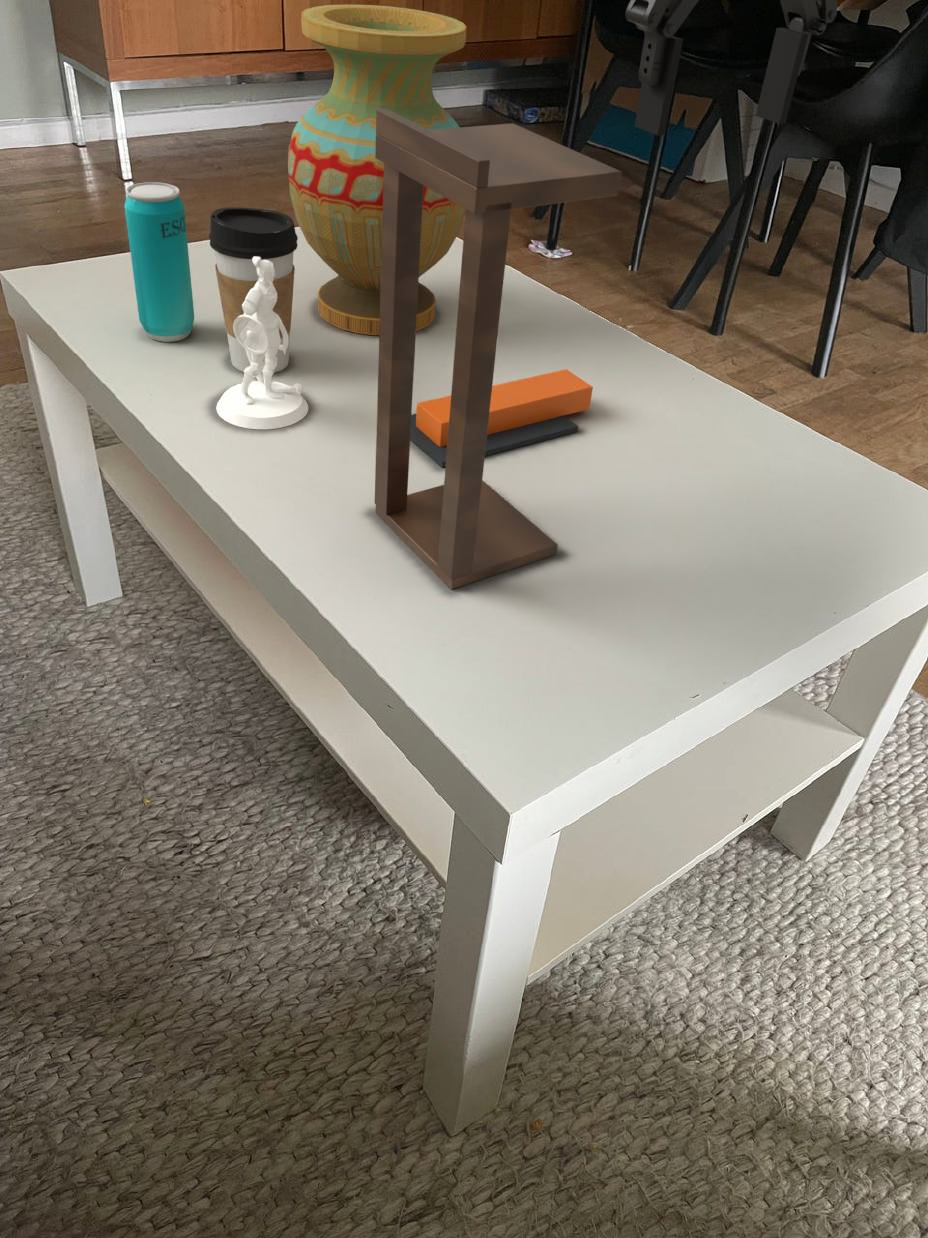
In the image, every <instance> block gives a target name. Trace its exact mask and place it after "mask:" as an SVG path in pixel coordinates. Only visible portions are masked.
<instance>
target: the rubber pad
mask: <svg viewBox="0 0 928 1238" xmlns="http://www.w3.org/2000/svg"><path fill="white" fill-rule="evenodd" d="M576 432H579V425H578V424H576V423H575V422H573V421H572V420H571V419H569V418H568V417H567V416H566V415H564V416H560V417H556V418H552V419H548V420H544V421H541V422H537V423H533V424H529V425H525V426H521V427H517V428H513V429H509V430H505V431H501V432H497V433H493V434H490V435H487V440H486V449H485V457H487V456H490V455H494V454H495V455H496V454H497V453H501V452H505V451H509V450H513V449H516V448H521V447H524V446H527V445H531V444H532V445H533V444H535V443H540V442H542V441H546V440H550V439H555V438H558V437H561V436H565V435H570V434H573V433H576ZM410 442H412V443H413V444H414V445H415V446H417V447H418V448H419V449H420V450H421V451H422V452H424V453H425V454H426V455H427V456H428V457H429V458H430V459H432V461H434V462H435V463H436V464H437V465H438V466H440V468H445V467H446V455H447V445H446V446H442V447H439V446H438V445H437V444H436V443H434V442H433V441H432V440H431V439H430V438H429V437H427V436H426V435H425V434H424V433H423V432H422V431H421V430H419V429H418V428H417V427H416V413H413V414H411V433H410Z"/></svg>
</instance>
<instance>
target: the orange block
mask: <svg viewBox="0 0 928 1238" xmlns="http://www.w3.org/2000/svg"><path fill="white" fill-rule="evenodd" d="M593 389H594V386H592V385H591V384H589V383H588V382H586V381H585V380H584V379H582V378H581V377H580V376H578V375H576V374H574V373H573V372H572V371H570V370H569V369H568V368H567V369H565V368H564V369H561V370H556V371H552V372H548V373H543V374H539V375H534V376H530V377H526V378H520V379H518V380H513V381H507V382H503V383H499V384H495V385H492V393H491V402H490V412H489V421H488V431H487V435H490V434H493V433H497V432H501V431H505V430H509V429H513V428H517V427H521V426H525V425H529V424H533V423H537V422H541V421H544V420H548V419H552V418H556V417H560V416H568V415H571V414H575V413H580V412H583V411H584V412H585V411H586V410H589V409H590V406H591V401H592V395H593V391H594V390H593ZM450 404H451V395H446V396H442V397H438V398H433V399H429V400H425V401H421V402H417V403H416V413H415V414H416V427H417V428H418V429H419V430H421V431H422V432H423V433H424V434H425V435H426V436H427V437H429V438H430V439H431V440H432V441H433V442H434V443H436V444H437V445H438V446H439V447H442V446H446V445H447V442H448V429H449V417H450Z"/></svg>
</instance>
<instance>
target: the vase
mask: <svg viewBox="0 0 928 1238" xmlns="http://www.w3.org/2000/svg"><path fill="white" fill-rule="evenodd" d="M300 15H301V16H300V17H301V18H300V19H301V32H302V35H304V36H305V37H306V38H308V39H309V40H311V41H312V42H314V43H315V44H317V45H319V46H321V47H322V48H323V49H325V50H326V51H327V52H328V54H329V55H330V57H331V59H332V61H333V78H332V84H331V86H330V89H329V90H328V92H327V93H326V94H325V95H324V96H323V97H321V99H319V100H318V101H316V102H315V103H314V104H313V105H312V106H311V107H310V108H309V109H308V110H307V111H306V112H305V113H304V114H303V115H302V116H301V117H300V118H299V120H298V121H297V122H296V125H295V126H294V128H293V129H292V133H291V137H290V140H289V145H288V153H287V172H288V184H289V196H290V201H291V205H292V208H293V212H294V217H295V220H296V222H297V224H298V227H299V229H300V230H301V233H302V235H303V237H304V239H305V240H306V242H307V245H309V247H310V248H311V249H312V250H313V251H314V252H315V253H316V254H317V255H318V257H319V258H320V259H321V260H322V261H323V263H325V265H327V266H328V267H329V268H330V269H331V270H332V271H334V273H335V274H337V276H336V277H333V278H332V279H330V280H328V281H327V282H326V283H324V284H323V285H321V286H320V288H319V289H318V291H317V311H318V314H319V316H320V317H321V318H322V319H323V320H324V321H325V322H327V323H328V324H330V325H332V326H334V327H335V328H338V329H341V330H343V331H348V332H352V333H356V334H362V335H370V336H379V328H380V292H381V257H382V222H383V187H384V163H383V162H381V161H380V160H378V159H376V158H375V149H376V110H377V109H388V110H390V111H392V112H394V113H396V114H398V115H400V116H402V117H404V118H406V119H408V120H410V121H412V122H414V123H416V124H418V125H420V126H422V127H424V128H426V129H428V130H436V129H449V128H461V127H460V126H459V125H458V123H457V121H455V119H454V118H453V116H451V115H450V114H449V112H448V111H446V110H445V108H443V107H442V105H441V104H440V103H439V102H438V101H437V100H436V98H435V95H434V92H433V85H432V84H433V83H432V75H433V71H434V67H435V65H436V63H437V62H438V61H440V59H442V58H443V57H445V56H447V55H450V54H452V53H455V52H458V51H459V50H461V49H463V48H464V47H465V45H466V39H467V25H465V23H464V22H462V21H460V20H458V19H456V18H454V17H450V16H447V15H444V14H440V13H435V12H430V11H425V10H420V9H413V8H407V7H399V6H398V7H397V6H389V5H388V6H387V5H376V4H350V3H349V4H327V5H319V6H317V5H316V6H313V7H309V8H306V9H304V10H303V11H301V14H300ZM465 214H466V209H465V208H463V207H461V206H459V205H458V204H456V203H454V202H452V201H451V200H449V199H447V198H445V197H444V196H442V195H440V194H438V193H436V192H435V191H433V190H431V189H429V188H428V187H426V186H424V185H423V204H422V223H421V242H420V261H419V278H420V277H422V276H423V275H424V274H426V273H427V272H428V271H429V270H430V269H432V268H433V267H435V266H436V264H437V263H439V262H440V261H441V260H442V259H443V258H444V257H445V256H446V255H447V254H448V252H449V251H450V249H451V247H452V245H453V244H454V242H455V240H456V239H457V237H458V235H459V233H460V231H461V228H462V225H463V222H464V220H465ZM436 305H437V299H436V297H435V294H434V293H433V292H432V291H431V290H430V289H429V288H428V287H427V286H425V285H424V284H422V283H421V282H420V281H418V300H417V319H416V332H418V331H420V330H422V329H424V328H426V327H428V326H429V325H430V324H431V323H432V322H433V321H434V319H435V316H436Z"/></svg>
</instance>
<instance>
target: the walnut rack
mask: <svg viewBox="0 0 928 1238" xmlns="http://www.w3.org/2000/svg"><path fill="white" fill-rule="evenodd" d="M375 158H376V159H378V160H380V161H381V162H383V163H384V187H383V222H382V257H381V292H380V328H379V335H378V337H379V338H378V364H377V365H378V366H377V368H378V369H377V402H376V404H377V406H376V435H375V436H376V438H375V439H376V440H375V468H374V469H375V471H374V472H375V473H374V474H375V475H374V505H375V510H374V511H375V514H376V515H377V516H378V518H380V520H382V521H383V522H384V523H385V524H386V525H387V527H389V528H390V530H391V531H393V532H394V534H396V536H398V538H400V539H401V540H402V542H403V543H405V545H407V547H408V548H409V549H410V550H412V552H414V554H415V555H416V556H418V557H419V559H420V560H421V561H422V562H423V563H424V564H425V565H426V566H427V567H428V568H429V569H430V570H431V571H432V572H433V573H434V574H435V575H436V576H437V577H438V578H439V579H440V580H441V581H442V582H443V583H444V584H445V585H446V586H447V587H448V588H449V589H450V590H454V589H457V588H460V587H463V586H467V585H469V584H472V583H475V582H478V581H481V580H484V579H487V578H490V577H493V576H496V575H499V574H501V573H502V574H503V573H504V572H508V571H510V570H514V569H517V568H519V567H523V566H526V565H528V564H531V563H534V562H537V561H540V560H543V559H546V558H549V557H552V556H555V555H557V554H558V548H559V544H558V543H557V542H556V541H555V540H553V539H552V538H551V537H550V536H549V535H547V534H546V533H545V532H544V531H543V530H542V529H540V528H539V527H538V526H537V525H536V524H534V523H533V522H532V521H531V520H530V519H529V518H527V517H526V516H525V515H524V514H523V513H522V512H521V511H519V510H518V509H517V508H516V507H515V506H513V504H512V503H510V502H509V501H508V500H506V499H505V498H504V497H503V496H502V495H501V494H500V493H498V492H497V491H496V490H495V489H493V488H492V487H491V486H490V484H489V485H488V483H487V482H485V480H483V476H484V467H485V460H486V459H485V458H486V456H485V449H486V440H487V431H488V421H489V412H490V402H491V393H492V386H493V383H494V373H495V366H496V365H495V364H496V355H497V346H498V345H497V344H498V335H499V328H500V318H501V306H502V299H503V289H504V279H505V272H506V271H505V270H506V262H507V253H508V243H509V242H508V241H509V233H510V224H511V215H512V210H517V209H524V208H532V207H541V206H549V205H557V204H563V203H572V202H578V201H579V202H580V201H586V200H593V199H594V200H595V199H602V198H610V197H617V196H618V195H619V190H620V184H621V179H622V173H623V172H622V170H619V169H617V168H614V167H612V166H610V165H608V164H606V163H603V162H601V161H599V160H596V159H595V158H591V157H590V156H588V155H585V154H583V153H581V152H578V151H576V150H575V149H572V148H570V147H567V146H565V145H563V144H560V143H559V142H556V141H553V140H551V139H550V138H547V137H545V136H542V135H541V134H538V133H536V132H533V131H531V130H529V129H526V128H525V127H523V126H520V125H518V124H515V123H513V122H512V123H501V124H487V125H477V126H476V125H475V126H465V127H463V126H462V127H460V128H449V129H436V130H428V129H426V128H424V127H422V126H420V125H418V124H416V123H414V122H412V121H410V120H408V119H406V118H404V117H402V116H400V115H398V114H396V113H394V112H392V111H390V110H388V109H377V110H376V149H375ZM423 185H424V186H426V187H428V188H429V189H431V190H433V191H435V192H436V193H438V194H440V195H442V196H444V197H445V198H447V199H449V200H451V201H452V202H454V203H456V204H458V205H459V206H461V207H463V208H465V209H466V213H465V216H464V227H463V241H462V253H461V267H460V279H459V291H458V302H457V304H458V305H457V315H456V317H457V318H456V328H455V341H454V343H455V344H454V354H453V369H452V379H451V392H450V396H451V404H450V417H449V429H448V442H447V455H446V467H444V468H445V469H444V479H443V480H444V482H443V484H441V485H437V486H434V487H431V488H427V489H423V490H420V491H416V492H413V493H410V494H408V489H409V488H408V487H409V468H410V449H411V440H410V433H411V415H413V414H412V412H413V392H414V372H415V355H416V339H417V337H416V336H417V335H416V334H417V331H416V319H417V300H418V282H419V278H420V277H419V261H420V242H421V223H422V204H423Z"/></svg>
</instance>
